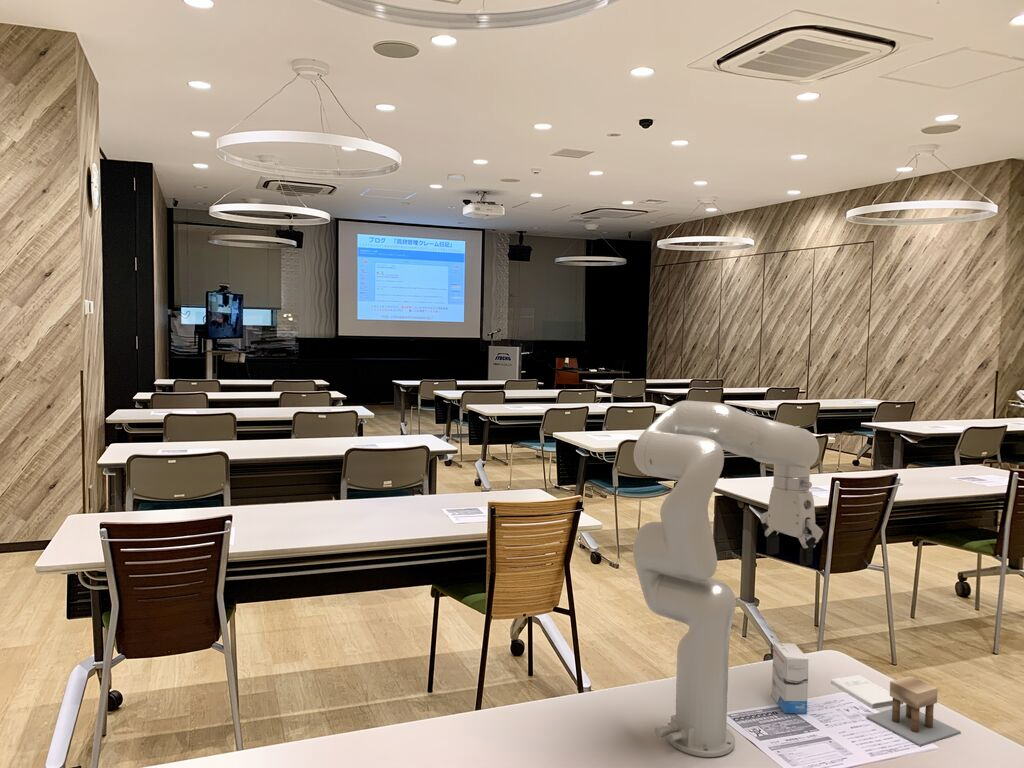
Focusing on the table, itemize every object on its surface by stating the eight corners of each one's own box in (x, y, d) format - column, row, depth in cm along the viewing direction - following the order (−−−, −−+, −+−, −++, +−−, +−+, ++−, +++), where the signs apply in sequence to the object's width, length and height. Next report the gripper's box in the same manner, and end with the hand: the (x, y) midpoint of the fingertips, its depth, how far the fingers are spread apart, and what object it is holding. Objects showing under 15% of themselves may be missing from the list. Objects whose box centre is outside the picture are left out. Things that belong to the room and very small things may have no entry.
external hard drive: (872, 711, 158) (830, 685, 170) (903, 706, 161) (860, 680, 173) (872, 703, 158) (830, 678, 170) (903, 698, 161) (860, 674, 172)
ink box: (808, 714, 155) (810, 658, 155) (783, 714, 155) (785, 658, 155) (793, 695, 164) (795, 642, 163) (770, 695, 164) (772, 641, 163)
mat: (920, 746, 143) (920, 744, 143) (866, 718, 154) (866, 716, 154) (960, 733, 148) (960, 731, 148) (905, 706, 159) (905, 704, 159)
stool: (935, 727, 150) (937, 688, 149) (915, 733, 147) (917, 693, 147) (908, 714, 155) (910, 676, 155) (888, 719, 153) (890, 681, 152)
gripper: (835, 489, 161) (832, 567, 162) (774, 476, 177) (772, 548, 178) (809, 491, 158) (806, 571, 159) (750, 478, 174) (748, 551, 175)
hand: (788, 559), depth 168 cm, fingers open, 9 cm apart
